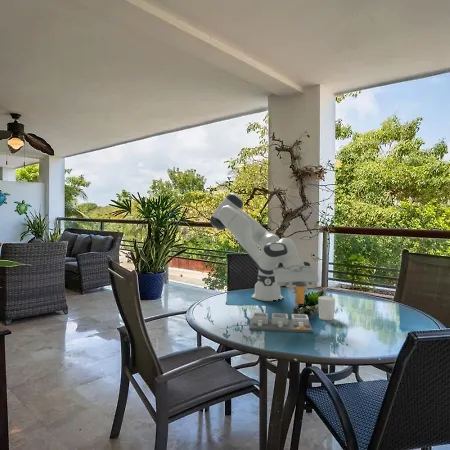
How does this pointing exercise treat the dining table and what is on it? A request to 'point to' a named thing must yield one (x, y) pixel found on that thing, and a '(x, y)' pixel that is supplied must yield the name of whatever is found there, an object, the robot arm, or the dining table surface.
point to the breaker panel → (275, 327)
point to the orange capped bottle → (299, 293)
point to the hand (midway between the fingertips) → (300, 292)
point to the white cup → (326, 307)
